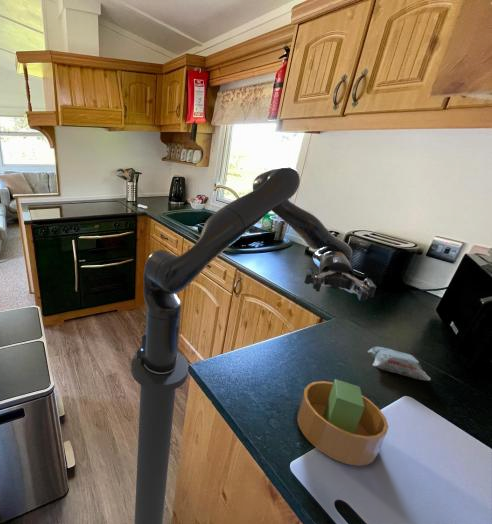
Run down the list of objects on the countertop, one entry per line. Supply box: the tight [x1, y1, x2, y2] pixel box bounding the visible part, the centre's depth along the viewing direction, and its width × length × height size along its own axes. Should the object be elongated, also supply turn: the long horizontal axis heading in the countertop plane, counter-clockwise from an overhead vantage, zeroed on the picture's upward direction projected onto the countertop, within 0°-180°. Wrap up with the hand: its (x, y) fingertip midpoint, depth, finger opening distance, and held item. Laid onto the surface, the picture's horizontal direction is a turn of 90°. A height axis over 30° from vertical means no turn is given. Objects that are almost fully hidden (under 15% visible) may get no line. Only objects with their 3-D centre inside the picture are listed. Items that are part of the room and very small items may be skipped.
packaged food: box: [367, 346, 432, 382], centre depth 80 cm, size 9×12×5 cm
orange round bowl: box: [296, 380, 389, 467], centre depth 60 cm, size 14×14×7 cm
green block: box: [323, 378, 364, 434], centre depth 59 cm, size 4×6×10 cm
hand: (340, 292), depth 66 cm, fingers open, 8 cm apart
